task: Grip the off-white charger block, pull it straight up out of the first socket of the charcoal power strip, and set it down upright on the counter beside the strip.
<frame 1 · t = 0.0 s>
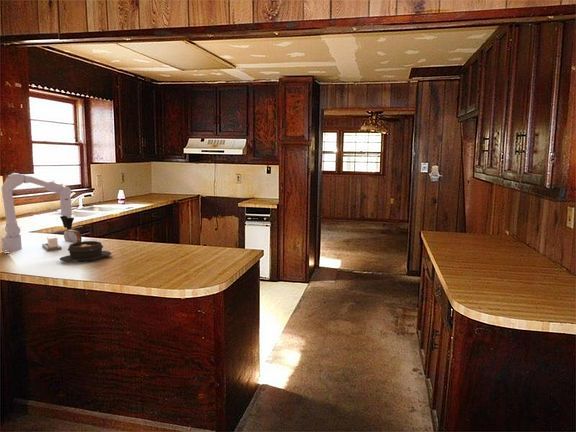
hand: (67, 228, 260), 10 cm above the countertop, tool pointing down, fingers open, 7 cm apart
strip: (52, 250, 247), on the countertop
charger: (53, 249, 244), point 1 cm above the countertop, touching strip
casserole: (86, 259, 227), on the countertop
tin: (72, 243, 266), on the countertop
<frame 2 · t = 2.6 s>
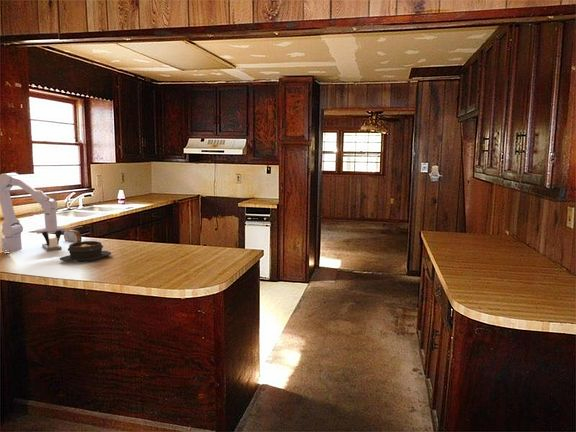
hand: (52, 244, 243), 4 cm above the countertop, tool pointing down, fingers closed on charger, 4 cm apart
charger: (53, 249, 244), point 1 cm above the countertop, touching gripper, strip
everything else where it was.
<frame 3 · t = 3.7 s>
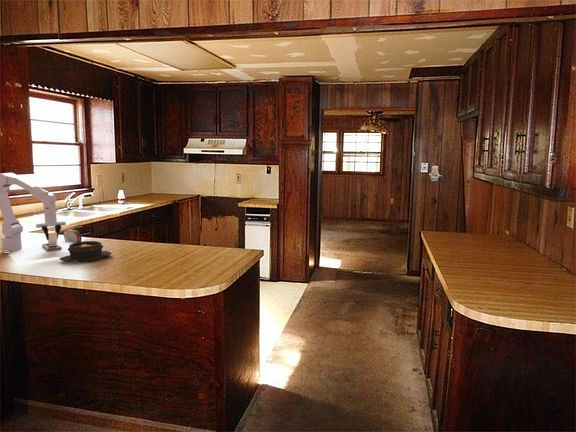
hand: (52, 239, 243), 7 cm above the countertop, tool pointing down, fingers closed on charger, 4 cm apart
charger: (52, 243, 243), point 5 cm above the countertop, touching gripper
everything else where it was.
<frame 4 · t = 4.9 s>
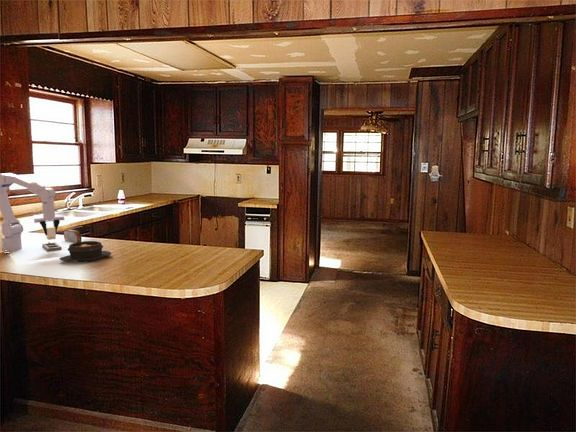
hand: (50, 234, 240), 10 cm above the countertop, tool pointing down, fingers closed on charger, 4 cm apart
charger: (51, 238, 241), point 8 cm above the countertop, touching gripper
everything else where it was.
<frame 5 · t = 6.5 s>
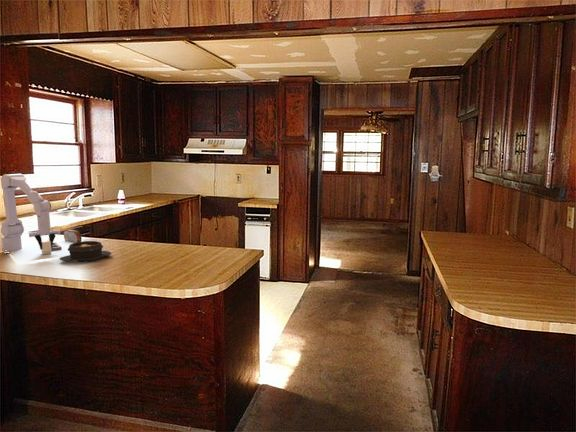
hand: (46, 248, 233), 4 cm above the countertop, tool pointing down, fingers closed on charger, 4 cm apart
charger: (46, 253, 233), point 2 cm above the countertop, touching gripper
everything else where it was.
when the fingers open (3 cm above the countertop, at t = 7.5 s): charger stays where it is, on the countertop.
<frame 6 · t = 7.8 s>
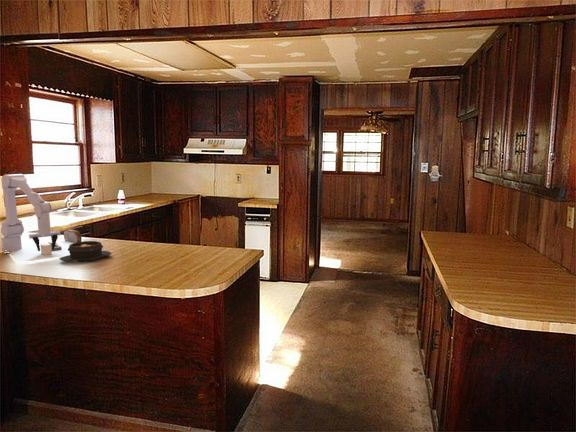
hand: (46, 249, 233), 4 cm above the countertop, tool pointing down, fingers open, 6 cm apart
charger: (46, 256, 234), on the countertop
everything else where it was.
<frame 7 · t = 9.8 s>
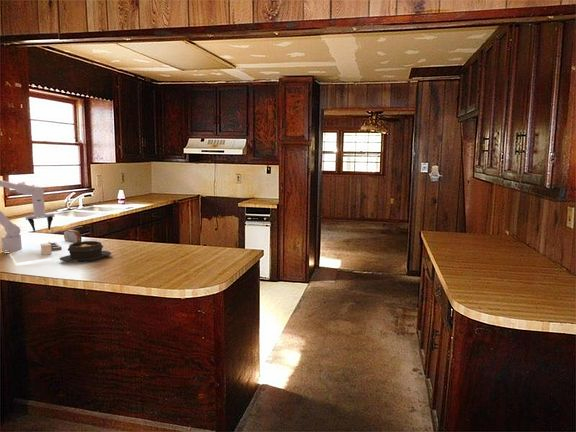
hand: (41, 230, 251), 10 cm above the countertop, tool pointing down, fingers open, 7 cm apart
nothing on the countertop moved.
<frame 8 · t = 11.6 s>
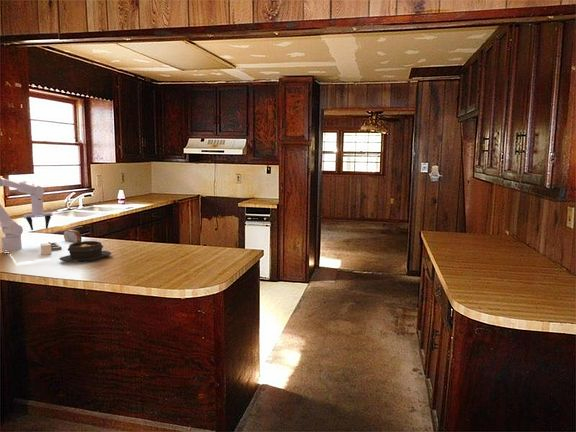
hand: (39, 229, 256), 10 cm above the countertop, tool pointing down, fingers open, 7 cm apart
nothing on the countertop moved.
at the end: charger inside the target area (0.1 cm from its centre), on the countertop; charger tilted 0°; the gripper is holding nothing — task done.
